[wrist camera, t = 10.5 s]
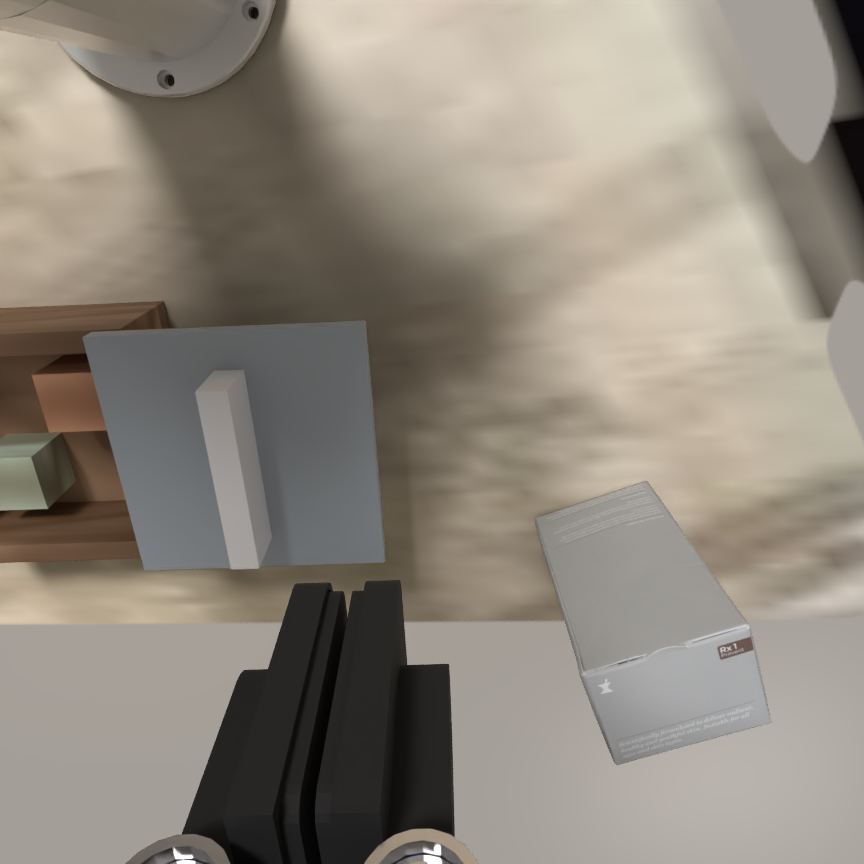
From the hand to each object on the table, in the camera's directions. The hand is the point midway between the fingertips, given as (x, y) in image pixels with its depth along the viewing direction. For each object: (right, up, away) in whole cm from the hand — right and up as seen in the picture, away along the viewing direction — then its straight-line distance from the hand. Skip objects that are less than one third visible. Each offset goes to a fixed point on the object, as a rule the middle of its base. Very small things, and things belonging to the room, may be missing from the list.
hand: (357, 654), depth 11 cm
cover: (-9, +3, +26) cm, 28 cm away
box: (-21, +5, +32) cm, 39 cm away
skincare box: (+13, -3, +36) cm, 38 cm away
